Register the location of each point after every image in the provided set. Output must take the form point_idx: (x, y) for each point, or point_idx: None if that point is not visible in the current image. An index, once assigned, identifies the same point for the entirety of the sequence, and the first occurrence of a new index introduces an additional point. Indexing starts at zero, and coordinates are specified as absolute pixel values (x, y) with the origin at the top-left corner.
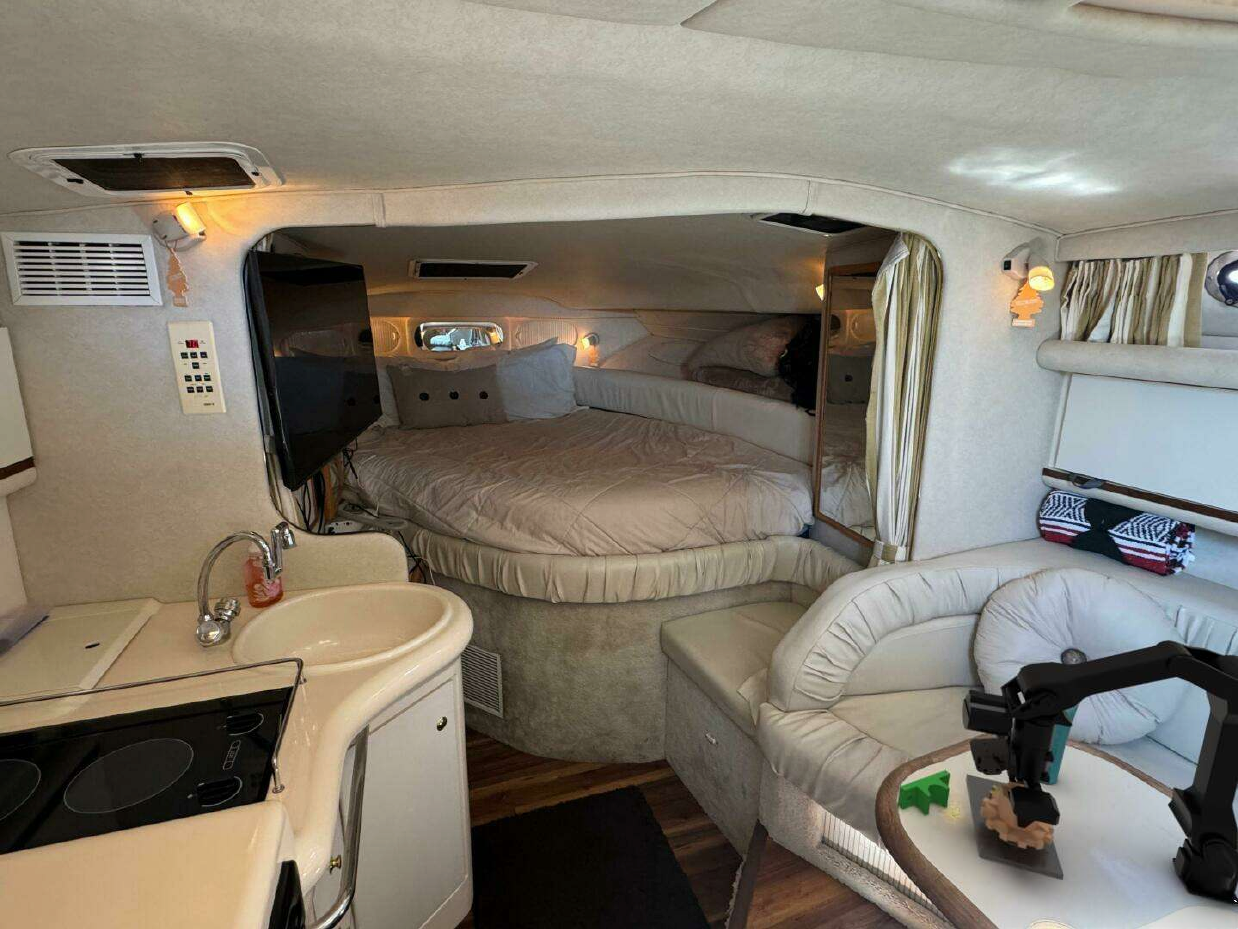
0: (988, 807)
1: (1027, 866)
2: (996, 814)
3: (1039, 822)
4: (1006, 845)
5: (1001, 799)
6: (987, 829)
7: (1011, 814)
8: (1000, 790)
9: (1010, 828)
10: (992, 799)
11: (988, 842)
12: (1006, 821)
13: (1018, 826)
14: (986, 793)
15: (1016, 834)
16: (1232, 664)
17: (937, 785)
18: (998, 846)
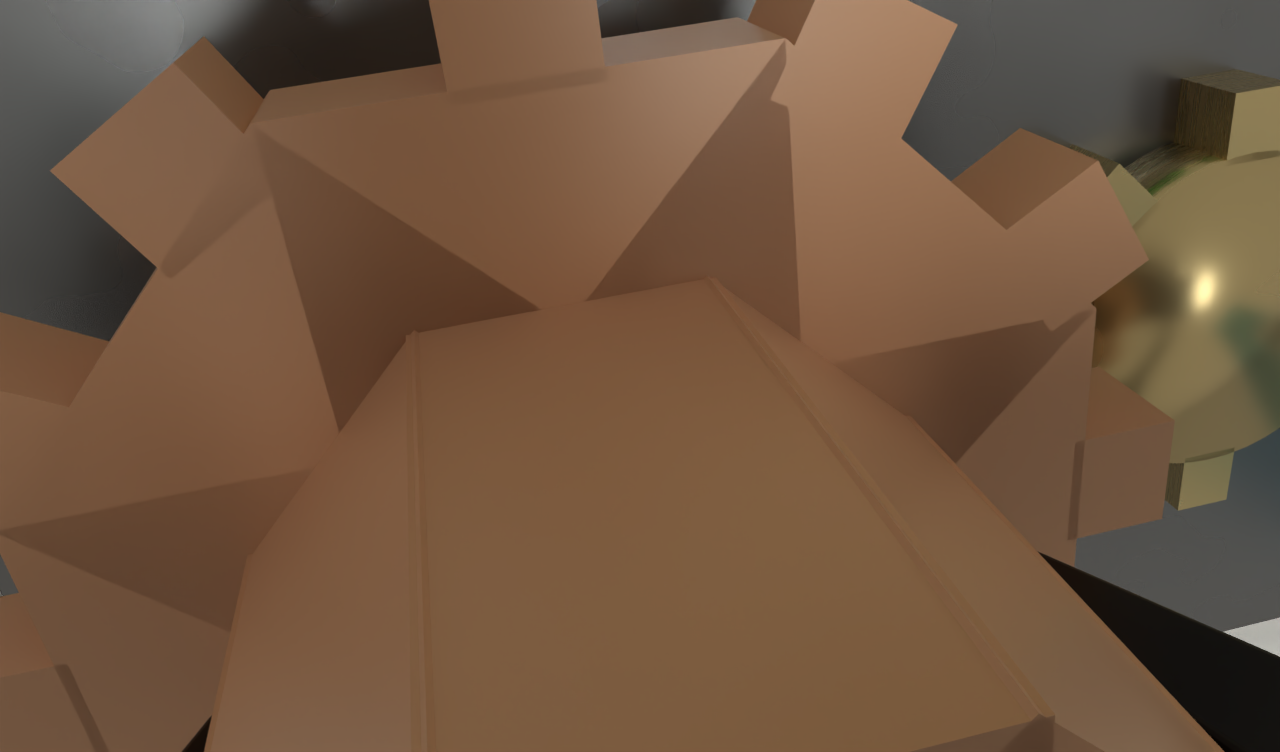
0: (629, 100)
1: (6, 592)
2: (480, 274)
3: None
4: None
5: (571, 573)
6: (413, 62)
7: (247, 734)
8: (922, 574)
9: (210, 536)
10: (933, 175)
11: (94, 84)
12: (326, 479)
13: (206, 727)
14: (1244, 31)
15: (101, 638)
16: None
17: None
18: (115, 238)
